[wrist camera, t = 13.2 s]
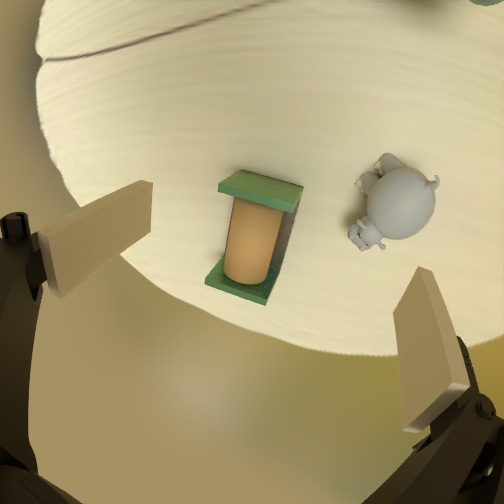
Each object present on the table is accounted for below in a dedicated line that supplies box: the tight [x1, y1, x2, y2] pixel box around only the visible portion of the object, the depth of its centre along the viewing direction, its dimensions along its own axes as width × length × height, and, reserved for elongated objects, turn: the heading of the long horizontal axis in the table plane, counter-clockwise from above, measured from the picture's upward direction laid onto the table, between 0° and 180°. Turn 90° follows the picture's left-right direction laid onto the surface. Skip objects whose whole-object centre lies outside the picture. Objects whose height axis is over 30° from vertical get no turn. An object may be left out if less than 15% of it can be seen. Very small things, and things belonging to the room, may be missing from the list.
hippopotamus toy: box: [348, 153, 440, 251], centre depth 36 cm, size 11×15×10 cm
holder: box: [205, 170, 304, 306], centre depth 44 cm, size 16×10×9 cm, turn 169°
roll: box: [223, 197, 284, 284], centre depth 44 cm, size 12×7×7 cm, turn 169°
